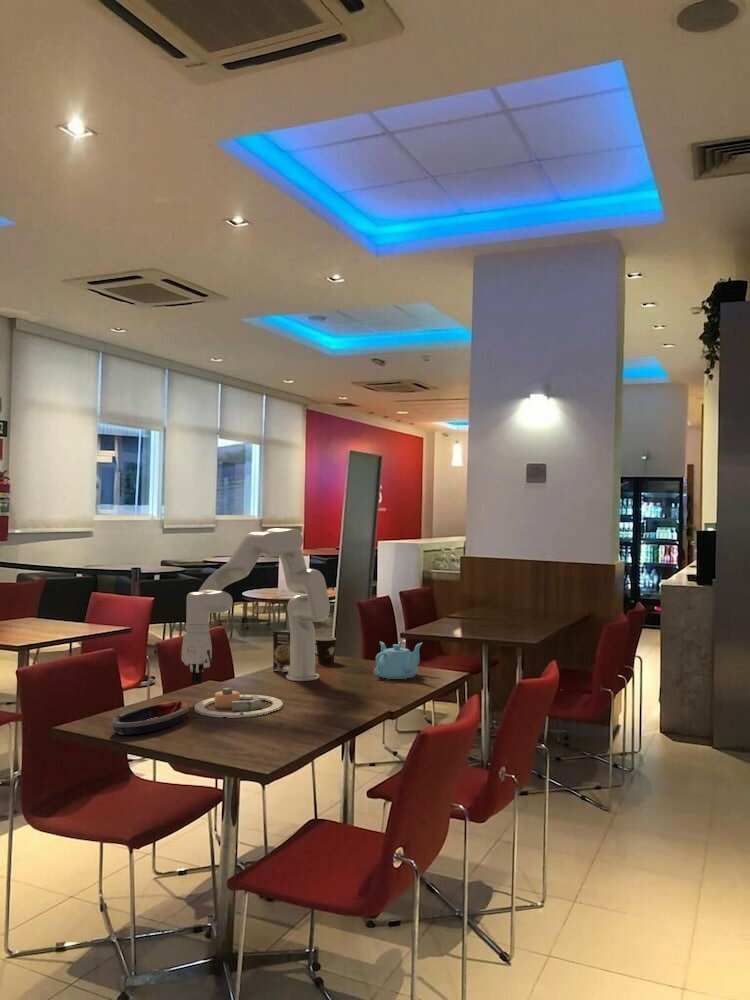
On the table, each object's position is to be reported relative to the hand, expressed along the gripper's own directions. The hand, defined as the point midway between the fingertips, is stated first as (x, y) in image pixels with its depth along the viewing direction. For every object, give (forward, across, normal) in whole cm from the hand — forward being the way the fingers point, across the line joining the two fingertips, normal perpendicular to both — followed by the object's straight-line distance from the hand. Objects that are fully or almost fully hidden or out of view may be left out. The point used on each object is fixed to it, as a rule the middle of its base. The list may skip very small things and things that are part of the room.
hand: (196, 683), depth 275 cm
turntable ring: (+6, +18, +1) cm, 19 cm away
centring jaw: (+6, +22, +1) cm, 23 cm away
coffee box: (+5, -6, +57) cm, 57 cm away
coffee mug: (+4, -4, +79) cm, 79 cm away
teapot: (+5, +38, +71) cm, 80 cm away
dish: (+7, +11, -29) cm, 32 cm away
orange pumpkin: (+6, +13, +1) cm, 14 cm away
